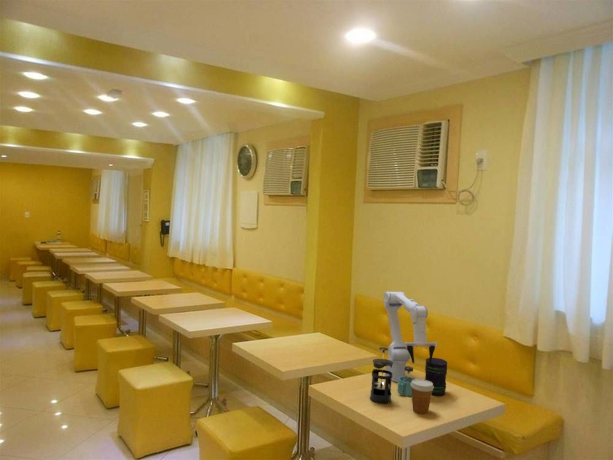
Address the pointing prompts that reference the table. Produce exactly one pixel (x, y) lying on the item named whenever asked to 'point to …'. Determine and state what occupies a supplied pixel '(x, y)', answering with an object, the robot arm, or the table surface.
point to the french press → (381, 389)
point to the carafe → (405, 386)
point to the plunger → (409, 369)
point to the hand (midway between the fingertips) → (422, 363)
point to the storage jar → (436, 375)
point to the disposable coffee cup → (421, 395)
